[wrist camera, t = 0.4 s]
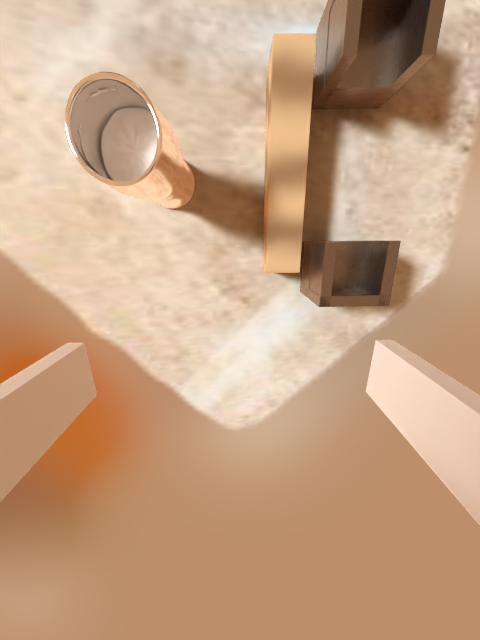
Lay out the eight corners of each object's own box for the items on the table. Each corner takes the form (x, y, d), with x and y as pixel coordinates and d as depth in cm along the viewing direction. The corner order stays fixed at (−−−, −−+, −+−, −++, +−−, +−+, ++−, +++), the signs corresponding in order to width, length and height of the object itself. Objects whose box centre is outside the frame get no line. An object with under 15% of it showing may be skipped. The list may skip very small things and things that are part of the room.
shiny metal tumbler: (201, 157, 30) (168, 80, 15) (195, 217, 32) (161, 197, 18) (145, 145, 29) (57, 55, 15) (142, 207, 31) (63, 179, 17)
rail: (266, 73, 27) (273, 33, 22) (301, 73, 27) (316, 33, 22) (262, 267, 34) (267, 272, 29) (290, 267, 34) (299, 272, 29)
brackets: (316, 29, 26) (353, -66, 18) (389, 29, 26) (458, -67, 18) (300, 291, 35) (319, 306, 27) (354, 290, 35) (388, 305, 27)
